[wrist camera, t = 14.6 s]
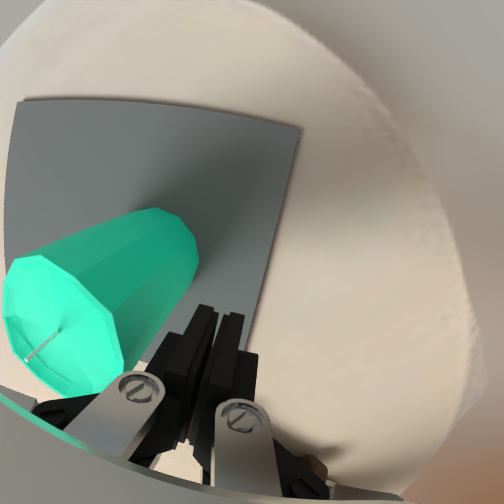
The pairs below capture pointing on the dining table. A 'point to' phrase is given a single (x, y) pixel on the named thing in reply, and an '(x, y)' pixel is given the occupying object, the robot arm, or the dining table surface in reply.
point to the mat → (153, 188)
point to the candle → (97, 298)
